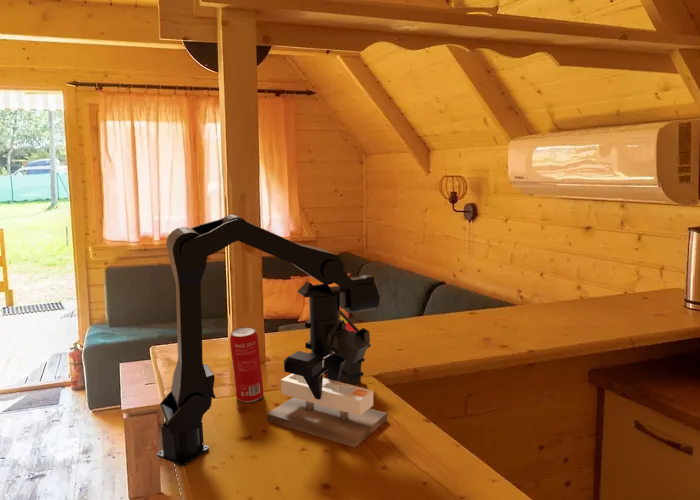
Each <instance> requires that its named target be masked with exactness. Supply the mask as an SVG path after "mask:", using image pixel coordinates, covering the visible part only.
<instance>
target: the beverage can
mask: <svg viewBox="0 0 700 500" xmlns="http://www.w3.org/2000/svg"><path fill="white" fill-rule="evenodd" d="M229 345H230V353H231V362H232V371H233V380H234V389H235V396H236V397H235V398H236V399H237V400H238V401H239V402H241V403H254V402H256V401H258V400H261V398H262V397H263V396H264V394H265V393H264V383H263V382H264V381H263V375H262V366H261V365H262V364H261V354H260V345H259V336H258V333H257V331H256V329H255V328H254V327H252V326H251V327H250V326H243V327H238V328H235V329H233V330H232V331H231V332H230V337H229Z"/></svg>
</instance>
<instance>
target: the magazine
mask: <svg viewBox="0 0 700 500" xmlns="http://www.w3.org/2000/svg"><path fill="white" fill-rule="evenodd" d="M340 320H344V322H345V323H346V330H348V331H355V332H357V331H359V330H360V329H359V328H357V326H356V325H355V323H353V322H352V321H351V319H350V318H349V317H348V316H347V315H346V314H345V313H344V312H343V311H342V310H340ZM364 362H365V358H364V357H363V358H362V359H360V360H358V361H357V362H356V363H354V364H351V363H348V362H347V361H345V363H344V365H343V368H342V371H341V374H340V378H339V381H342V382H343V383H346V384H350V385H354V384H357V383H360V382H361V381H362V378H361V377H362V376H364V372H363V371H362V363H364ZM323 367H325V363H324V362H323ZM326 374H327V372H326Z"/></svg>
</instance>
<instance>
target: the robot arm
mask: <svg viewBox="0 0 700 500" xmlns="http://www.w3.org/2000/svg"><path fill="white" fill-rule="evenodd" d="M236 242H240V243H243V244H245V245H247V246H249V247H251V248H254V249H257V250H259V251H261V252H264V253H267V254H269V255H271V256H273V257H275V258H279V259H281V260H282V261H286V262H288V263H291V265H294V266H295V267H296V268H297V269H299V270H301V271H303V272H304V273H305V274H306V275H308V276H310V277H312V278H313V279H315V280H316V281H318V282H320V283H318V284H313V283H311V282H309V281H308V280H306V281H305V283H304V284H303V285H302V286H301V287H300V288H299V289H298V290H297V293H298V294H299V295H301V296H302V297H304V298H308V307H309V309H308V310H309V311H308V312H309V320H307V321H304V328H305V329H306V328H307V329H309V340H308V341H307V342H305V347H304V348H305V349H307V350H310V351H311V352H309V353H308V352H305V351H300V350H298V351H296V352H294V353H292V354H290V355H288V356H287V357H286V358H285V359H284V360H283V371H284V372H285V373H288V374H296V375H300V376H303V377H304V379H305V381H306V382H307V384H308V386H309V388H310V390H311V392H312V393H313V395H314V397H315V399H321V394H322V382H323V378H324V377H323V376H324V374H325V373H326V372H327V373H326V377H327V379H330V380H334V381H338V382H340V379H339V378H340V374H341V371H342V368H343V365H344V363H345V361H347V362H348V363H351V364H354V363H356V362H357V361H358V360H360V359H362V358H364V357H365V355H366V351H367V349H369V348H371V345H372V344H371V336H370V330H368V329H367V328H365V327H363V328H361V329H358V330H359V331H357V332H355V331H348V330H346V323H345V322H344V320H340V311H341V309H343V310H344V311H345V312H346V313H347V314H353V313H360V312H366V311H373V310H377V309H378V308H379V305H380V301H381V300H380V297H381V295H380V294H379V291H378V287H377V285H376V283H375V277H374V276H373V275H371V274H363V275H360V276H354V277H350V276H349V275H348V273H347V271H346V270H344V269H345V267H344V266H345V265H344V262H343V259H342V258H341V256H339V255H337V254H336V253H333V252H331V251H329V250H327V249H325V248H323V247H318V246H313V245H309V244H303V243H302V244H301V243H299V242H294V241H292V240H290V239H288V238H286V237H283V236H281V235H278V234H276V233H274V232H271V231H269V230H267V229H264V228H262V227H260V226H257V225H256V224H253V223H252V222H251V223H250V221H246V220H245V219H244V218H242V217H240V216H239V215H236V214H228V215H226V216H224V217H222V218H218V219H216V220H212V221H208V222H205V223H201V224H199V225H195V226H192V227H187V226H181V227H177V228H176V229H174V230H172V232H170V233H169V235H168V236H167V238H166V244H165V245H166V250H167V254H168V260H169V263H170V266H171V270H172V273H173V274H172V275H173V277H174V281H175V294H176V295H175V300H176V301H175V303H176V308H175V309H176V328H177V329H176V332H177V334H176V336H177V362H176V366H175V369H174V372H173V376H172V377H173V379H172V384H171V390H170V391H169V392H168V394H167V395H165V397H164V398H163V400H162V401H161V402H160V403H159V407H160V410H161V412H162V415H163V417H164V421H163V424H161V426H160V428H161V439H162V442H161V443H162V450H160V451H158V452H157V455H156V456H157V457H158V458H161V459H163V460H166V461H168V462H171V463H173V464H175V465H178V466H185V465H187V464H189V463H191V462H192V461H193V460H195V459H197V458H199V456H201V455H203V454H204V453H206V452H208V451H209V450H210V447H209V445H205V444H204V428H203V422H202V420H203V418H204V414H206V413H207V412H208V411H209V410H210V409H211V407H212V401H213V399H216V395H215V392H214V391H215V390H214V387H215V379H216V378H215V374H214V373H213V370H212V369H211V368H210V367H209V365H208V364H207V363H205V364H204V361H203V356H204V355H203V327H202V326H203V324H202V323H203V322H202V321H203V318H202V282H203V278H204V276H205V272H206V269H207V263H208V257H209V256H211V255H213V254H217V253H218V252H220V251H221V250H223V249H225V248H226V247H228V246H230V245H231V244H233V243H236ZM332 284H335V285H336V286H330V285H332ZM323 362H324V363H325V367H323Z"/></svg>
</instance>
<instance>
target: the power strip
mask: <svg viewBox="0 0 700 500" xmlns="http://www.w3.org/2000/svg"><path fill="white" fill-rule="evenodd" d="M280 386H281V387H280V393H281V395H284V396H287V397H290V398H293V397H294V398H298V399H301V400H305V401H308V402H312V403H315V404H319V405H323V406H326V407H330V408H333V409H337V410H341V411H344V412H348V413H351V414H355V415H358V416H360V415H361V414H363V413H364V412H365V411H367V410H368V409H371V408H372V407H373V406H374V390H373V389H368V388H364V387H361V386H358V385H354V384H352V385H350V384H348V383H346V382H343V381H342V382H341V381H334V380H330V379H328V378H325V377H323V382H322V394H321V399H315V397H314V395H313V393H312V392H311V390H310V388H309V386H308V384H307V382H306V381H305V379H304V377H303V376H300V375H296V374H292V373H289V375H287V376H285V377H283V378H281V379H280Z"/></svg>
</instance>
